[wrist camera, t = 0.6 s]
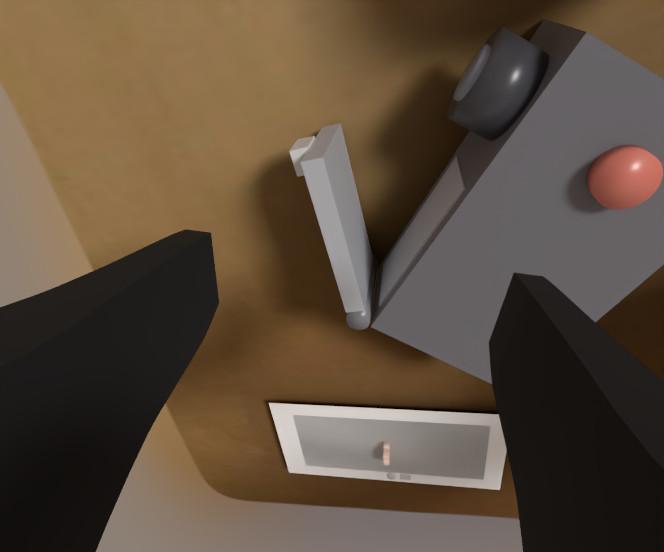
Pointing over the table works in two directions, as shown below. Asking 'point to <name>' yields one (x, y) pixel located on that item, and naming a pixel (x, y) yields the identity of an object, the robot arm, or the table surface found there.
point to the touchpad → (392, 444)
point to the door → (339, 218)
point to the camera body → (532, 193)
